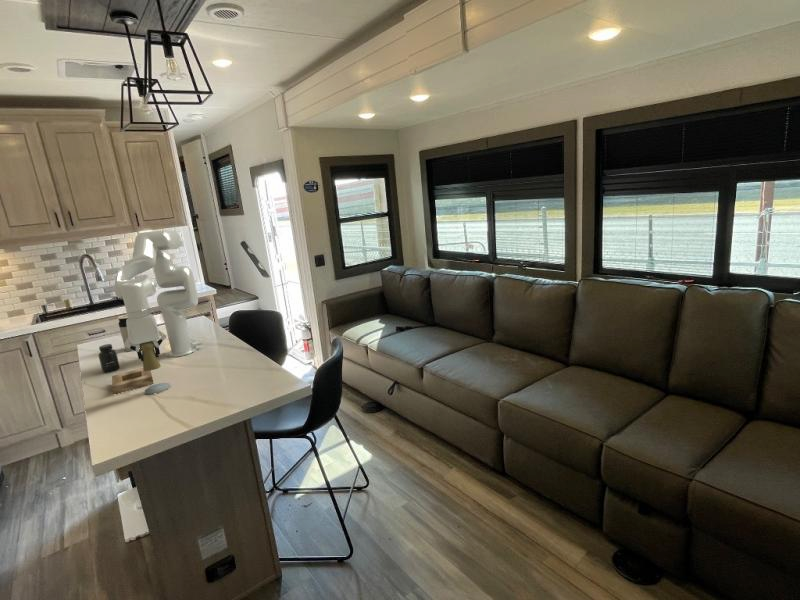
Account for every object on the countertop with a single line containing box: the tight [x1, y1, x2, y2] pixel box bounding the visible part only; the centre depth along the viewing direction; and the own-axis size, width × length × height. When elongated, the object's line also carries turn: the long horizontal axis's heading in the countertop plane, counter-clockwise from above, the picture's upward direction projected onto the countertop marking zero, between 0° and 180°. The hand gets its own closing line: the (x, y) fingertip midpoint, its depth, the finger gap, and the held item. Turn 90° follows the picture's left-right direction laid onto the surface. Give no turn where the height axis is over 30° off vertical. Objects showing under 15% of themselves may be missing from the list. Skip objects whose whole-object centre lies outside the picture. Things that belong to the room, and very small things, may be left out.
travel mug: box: [117, 314, 136, 352], centre depth 222 cm, size 8×8×18 cm
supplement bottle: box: [98, 343, 121, 374], centre depth 195 cm, size 7×7×12 cm
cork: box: [140, 341, 161, 372], centre depth 167 cm, size 6×6×11 cm
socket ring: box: [111, 367, 155, 395], centre depth 178 cm, size 14×14×4 cm
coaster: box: [144, 382, 171, 395], centre depth 171 cm, size 9×9×1 cm
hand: (149, 357), depth 167 cm, fingers closed on cork, 4 cm apart
